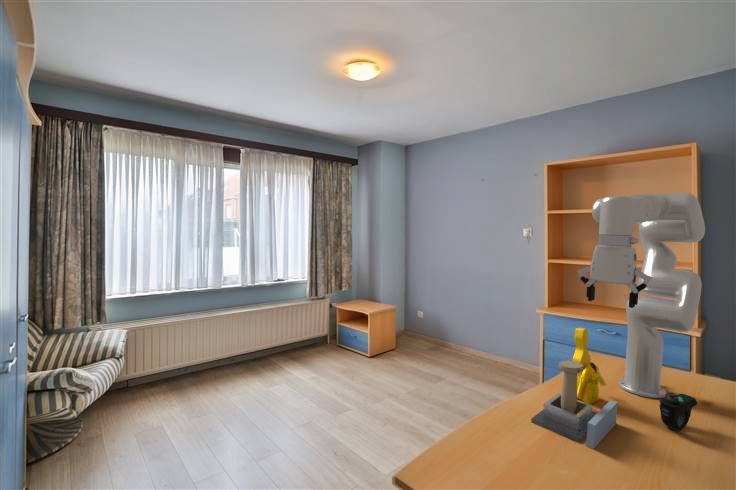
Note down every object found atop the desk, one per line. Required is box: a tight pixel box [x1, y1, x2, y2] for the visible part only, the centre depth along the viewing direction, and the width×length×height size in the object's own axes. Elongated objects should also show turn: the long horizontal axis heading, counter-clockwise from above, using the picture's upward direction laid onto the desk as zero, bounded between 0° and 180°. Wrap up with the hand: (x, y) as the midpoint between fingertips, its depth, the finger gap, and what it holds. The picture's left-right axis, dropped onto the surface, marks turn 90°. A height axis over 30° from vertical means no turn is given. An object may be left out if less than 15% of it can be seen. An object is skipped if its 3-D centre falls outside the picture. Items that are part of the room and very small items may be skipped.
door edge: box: [585, 399, 618, 450], centre depth 94 cm, size 18×2×6 cm, turn 131°
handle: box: [558, 360, 583, 414], centre depth 100 cm, size 5×6×15 cm
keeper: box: [530, 393, 598, 443], centre depth 100 cm, size 18×12×4 cm, turn 131°
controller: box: [659, 392, 698, 431], centre depth 98 cm, size 4×12×10 cm, turn 115°
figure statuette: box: [572, 327, 607, 405], centre depth 113 cm, size 18×8×22 cm, turn 123°
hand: (610, 303), depth 99 cm, fingers open, 9 cm apart
